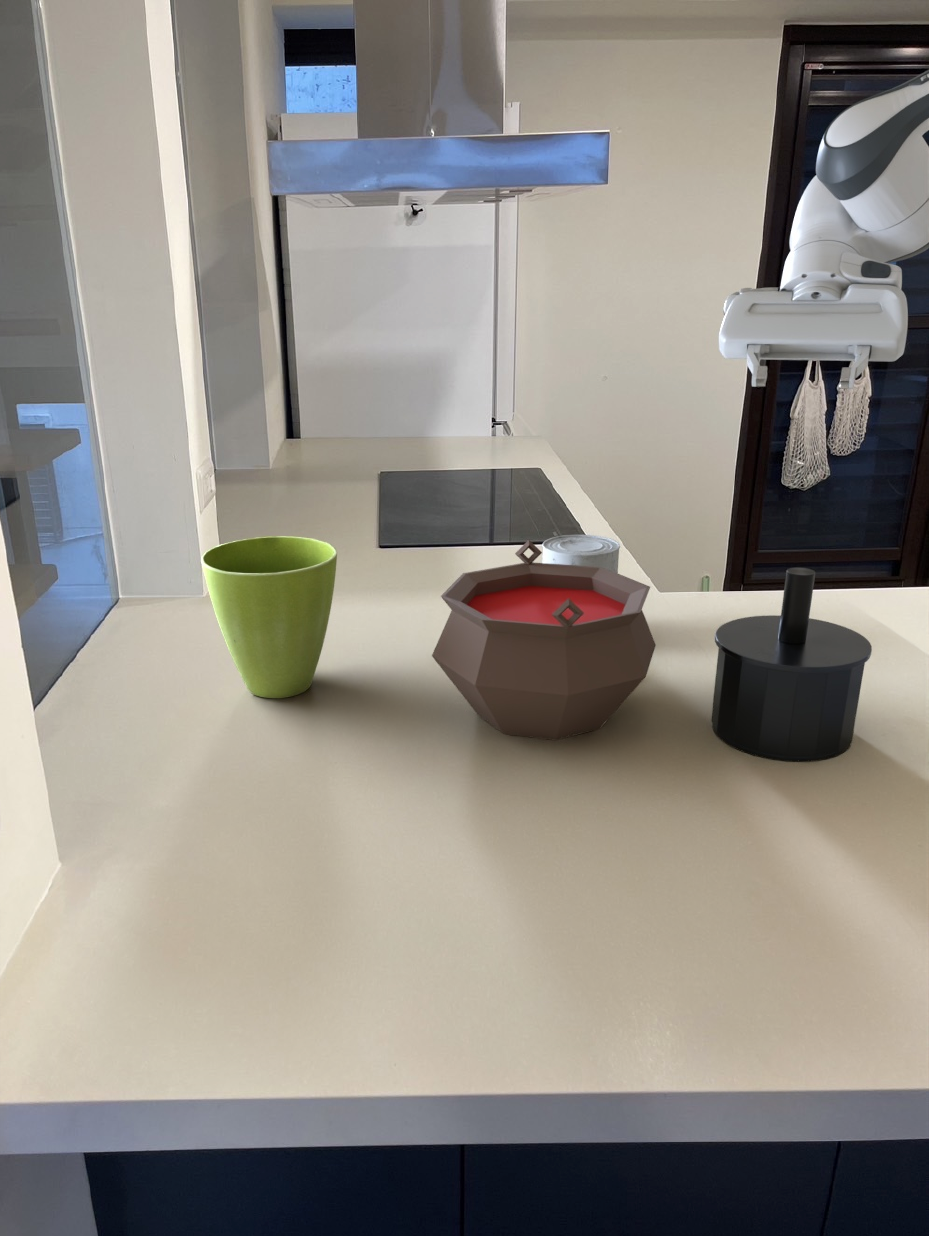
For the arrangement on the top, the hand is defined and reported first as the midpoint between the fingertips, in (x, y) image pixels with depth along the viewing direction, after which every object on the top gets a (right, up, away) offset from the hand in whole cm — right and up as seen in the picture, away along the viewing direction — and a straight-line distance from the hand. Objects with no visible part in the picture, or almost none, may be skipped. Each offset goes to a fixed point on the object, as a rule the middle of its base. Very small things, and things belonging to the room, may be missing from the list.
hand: (801, 384), depth 114 cm
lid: (-7, -30, -14) cm, 34 cm away
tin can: (-23, -28, +16) cm, 40 cm away
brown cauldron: (-30, -37, -5) cm, 48 cm away
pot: (-6, -39, -11) cm, 41 cm away
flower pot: (-60, -34, +3) cm, 69 cm away
